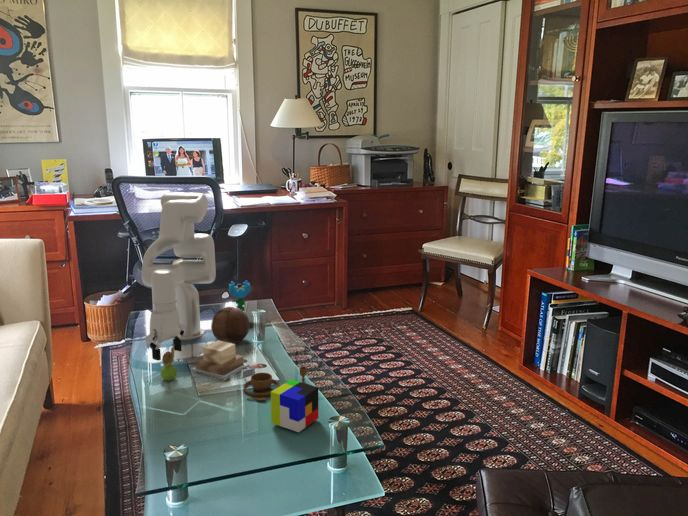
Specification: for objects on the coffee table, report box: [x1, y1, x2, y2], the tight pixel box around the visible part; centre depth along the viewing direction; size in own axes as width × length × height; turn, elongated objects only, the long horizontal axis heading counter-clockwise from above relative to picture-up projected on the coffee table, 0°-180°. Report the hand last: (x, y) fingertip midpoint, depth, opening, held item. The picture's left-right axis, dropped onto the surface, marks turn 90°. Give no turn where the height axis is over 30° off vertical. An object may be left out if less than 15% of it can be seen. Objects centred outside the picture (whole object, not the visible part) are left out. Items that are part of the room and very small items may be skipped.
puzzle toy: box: [270, 379, 319, 433], centre depth 172 cm, size 10×10×10 cm
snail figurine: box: [160, 343, 178, 382], centre depth 199 cm, size 5×6×12 cm
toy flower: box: [228, 280, 251, 312], centre depth 259 cm, size 9×9×18 cm
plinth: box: [195, 339, 245, 376], centre depth 208 cm, size 12×12×8 cm
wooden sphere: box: [210, 306, 250, 345], centre depth 233 cm, size 15×15×15 cm
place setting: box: [243, 366, 308, 401], centre depth 193 cm, size 18×20×6 cm
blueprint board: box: [189, 362, 251, 380], centre depth 209 cm, size 16×14×1 cm
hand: (167, 354), depth 197 cm, fingers open, 9 cm apart
